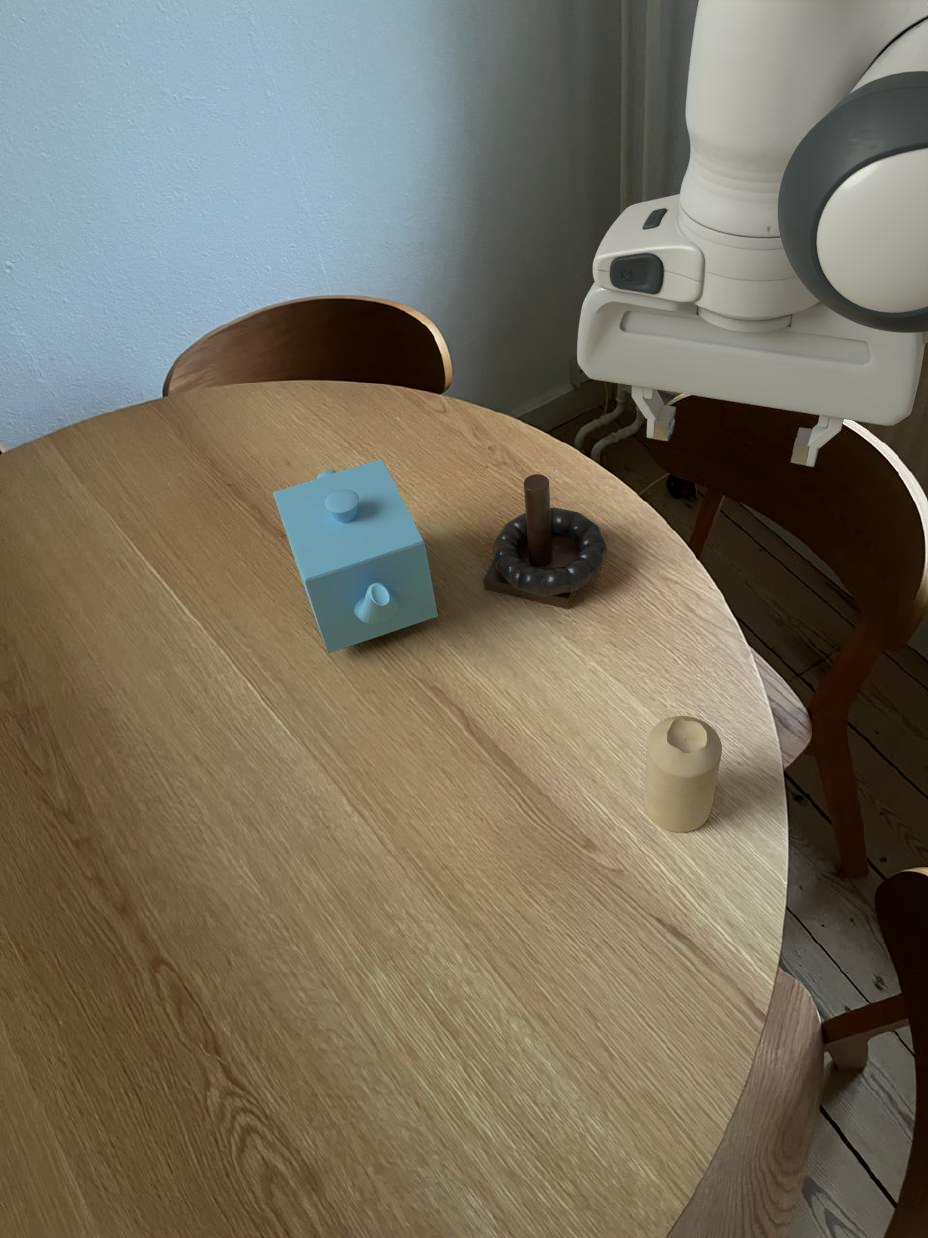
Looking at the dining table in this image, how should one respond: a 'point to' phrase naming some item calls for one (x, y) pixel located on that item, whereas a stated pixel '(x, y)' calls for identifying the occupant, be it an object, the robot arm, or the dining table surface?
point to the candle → (681, 773)
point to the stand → (538, 545)
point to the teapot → (357, 554)
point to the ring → (553, 578)
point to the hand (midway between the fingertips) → (730, 446)
